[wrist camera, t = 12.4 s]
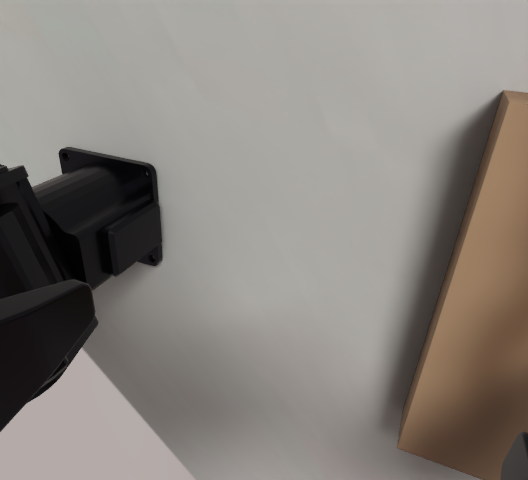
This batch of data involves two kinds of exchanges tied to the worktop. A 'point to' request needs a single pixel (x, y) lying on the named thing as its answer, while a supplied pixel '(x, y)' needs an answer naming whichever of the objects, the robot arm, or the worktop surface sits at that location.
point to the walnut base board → (480, 319)
